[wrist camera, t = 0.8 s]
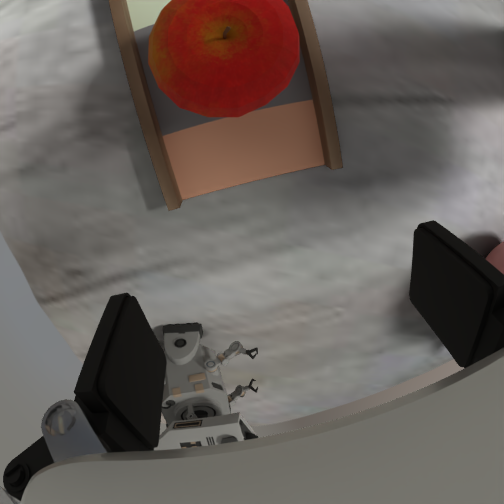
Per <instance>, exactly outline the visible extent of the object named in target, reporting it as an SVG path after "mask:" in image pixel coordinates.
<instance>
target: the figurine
mask: <svg viewBox="0 0 504 504" xmlns="http://www.w3.org/2000/svg"><path fill="white" fill-rule="evenodd" d="M163 333H164V347H165V351H164V353H165V356H166V360H167V365H166V374H165V382H164V391H163V401H162V411H161V412H162V414H163V416H164V418H165V420H166V423H167V424H166V426H167V429H166V430H165V431H164V432H163V433H162V434H161V435H160V436H159V444H158V447H156V448H154V451H155V450H169V449H180V448H191V447H200V446H209V445H217V444H224V443H231V442H238V441H244V440H250V439H255V438H258V436H257V434H256V433H255V432H254V431H253V429H252V428H251V426H250V425H249V424H248V422H247V421H246V420H245V419H244V417H243V416H242V415H241V414H240V412H239V413H233V414H231V408H230V406H232V405H234V404H235V403H236V401H235V400H237V399H238V398H239V397H244V396H245V394H246V391H247V390H249V389H252V390H253V391H255V392H257V389H258V386H257V388H256V390H255V389H254V388H253V387H252V382H253V381H256V380H254V379H252V380H251V382H250V384H249V386H245V387H243V386H241V385H238V386H237V387H236V389H235V391H234V392H232V393H231V395H230V394H229V395H227V393H226V389H225V386H224V382H223V379H222V376H221V372H220V369H219V365H220V364H222V365H223V366H225V365H227V364H228V363H229V359H231V358H232V357H233V356H237V355H239V354H240V353H243V354H247V355H249V356H250V357H251V358H252V359H254V358H255V356H256V354H258V348H254V349H252V350H246V349H244V348H243V346H242V345H241V343H240V342H239V341H235V342H233V343H232V344H231V345H230V347H229V349H227V350H226V351H224V353H219V354H218V355H217V357H216V354H215V351H214V350H212V349H209V348H207V347H205V346H203V345H200V344H199V341H200V338H201V337H202V333H203V331H202V326H201V324H199V323H194V324H193V325H191V324H190V323H187V324H186V325H180V324H175V325H174V326H173V325H172V324H169V325H168V326H163ZM254 351H256V352H257V353H256V354H255V355H254V356H252V355H251V353H252V352H254Z"/></svg>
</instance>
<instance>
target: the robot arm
mask: <svg viewBox="0 0 504 504" xmlns="http://www.w3.org/2000/svg"><path fill="white" fill-rule="evenodd" d="M409 296H410V300H411V302H412V304H413V305H414V306H415V308H416V309H417V310H418V311H419V313H420V314H421V315H422V317H423V318H424V319H425V320H426V322H427V323H428V324H429V326H430V327H431V328H432V330H433V331H434V332H435V334H436V335H437V336H438V338H439V339H440V340H441V342H442V343H443V344H444V346H445V347H446V348H447V350H448V351H449V352H450V354H451V355H452V357H453V358H454V359H455V361H456V362H457V364H458V365H459V366H460V367H464V368H465V369H463V370H461V371H459V372H457V373H455V374H453V375H451V376H449V377H446V378H444V379H442V380H440V381H438V382H436V383H434V384H431V385H429V386H427V387H424V388H422V389H420V390H417V391H415V392H412V393H410V394H407V395H405V396H402V397H400V398H397V399H395V400H392V401H390V402H387V403H384V404H382V405H379V406H376V407H373V408H370V409H367V410H364V411H361V412H358V413H355V414H352V415H349V416H345V417H342V418H339V419H336V420H332V421H328V422H325V423H321V424H317V425H314V426H310V427H306V428H302V429H298V430H293V431H290V432H285V433H280V434H275V435H271V436H266V437H260V438H255V439H250V440H244V441H238V442H231V443H224V444H217V445H209V446H200V447H191V448H180V449H169V450H155V451H154V448H156V447H158V444H159V433H160V422H161V411H162V401H163V391H164V382H165V374H166V365H167V360H166V356H165V353H164V351H163V349H162V348H161V346H160V344H159V342H158V340H157V338H156V336H155V335H154V333H153V331H152V329H151V327H150V325H149V323H148V321H147V319H146V317H145V315H144V313H143V311H142V309H141V307H140V305H139V303H138V301H137V299H136V297H135V296H130V295H129V294H128V293H123V294H119V295H114V296H111V297H110V299H109V301H108V304H107V306H106V308H105V311H104V313H103V315H102V318H101V320H100V323H99V325H98V328H97V330H96V333H95V335H94V338H93V340H92V343H91V345H90V348H89V351H88V353H87V356H86V359H85V361H84V364H83V367H82V370H81V373H80V375H79V378H78V381H77V384H76V387H75V390H74V393H75V394H76V396H75V400H74V401H73V400H67V399H65V400H61V401H58V402H56V403H55V404H53V405H52V406H51V407H50V408H48V410H47V411H46V413H45V414H44V417H43V419H42V423H41V428H42V433H43V436H42V437H41V438H40V439H39V440H37V441H36V442H35V443H33V444H32V445H31V446H30V447H28V448H27V449H26V450H25V451H23V452H22V453H21V454H20V455H18V456H17V457H16V458H14V459H13V460H12V461H11V462H10V463H9V464H8V466H7V467H6V469H5V471H4V476H3V483H4V487H5V488H2V487H0V504H504V274H503V273H501V272H500V271H499V270H498V269H497V268H495V267H494V266H493V265H492V264H491V263H489V262H488V261H487V260H486V259H485V258H483V257H482V256H481V255H480V254H478V253H477V252H476V251H475V250H473V249H472V248H471V247H469V246H468V245H467V244H466V243H464V242H463V241H462V240H460V239H459V238H458V237H456V236H455V235H454V234H452V233H451V232H450V231H448V230H447V229H446V228H444V227H443V226H441V225H440V224H439V223H437V222H436V221H429V222H425V223H421V224H419V225H418V227H417V229H416V230H415V231H414V241H413V258H412V271H411V282H410V292H409Z"/></svg>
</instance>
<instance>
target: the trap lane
mask: <svg viewBox="0 0 504 504" xmlns="http://www.w3.org/2000/svg"><path fill="white" fill-rule="evenodd" d="M170 1H171V0H109V5H110V9H111V14H112V18H113V23H114V27H115V31H116V35H117V40H118V44H119V48H120V52H121V56H122V60H123V64H124V67H125V71H126V75H127V79H128V82H129V86H130V90H131V93H132V97H133V100H134V104H135V107H136V111H137V114H138V118H139V121H140V124H141V128H142V131H143V134H144V137H145V141H146V144H147V147H148V150H149V153H150V157H151V160H152V163H153V166H154V169H155V172H156V175H157V178H158V181H159V184H160V187H161V190H162V193H163V196H164V199H165V202H166V204H167V207H168V210H169V211H170V210H174V209H177V208H180V206H181V203H182V200H185V199H188V198H192V197H195V196H199V195H202V194H206V193H210V192H213V191H217V190H221V189H224V188H228V187H232V186H236V185H240V184H244V183H248V182H252V181H256V180H260V179H264V178H268V177H272V176H276V175H281V174H285V173H289V172H294V171H298V170H303V169H307V168H312V167H317V166H321V165H326V166H327V167H329V168H330V169H331V170H334V169H339V168H343V164H342V158H341V151H340V145H339V138H338V132H337V127H336V121H335V115H334V110H333V105H332V100H331V95H330V90H329V85H328V80H327V76H326V71H325V67H324V62H323V58H322V54H321V50H320V45H319V41H318V38H317V34H316V30H315V26H314V22H313V19H312V15H311V12H310V8H309V5H308V1H307V0H283V1H284V2H285V3H286V4H287V5H288V6H289V9H290V11H291V14H292V16H293V19H294V22H295V24H296V27H297V29H298V33H299V44H300V62H299V64H298V66H297V68H296V70H295V72H294V74H293V76H292V79H291V81H290V83H289V85H288V87H286V88H285V89H284V90H283V91H282V92H280V93H279V94H278V95H277V96H276V97H275V98H273V99H272V100H271V101H270V102H269V103H268V104H266V105H265V106H262V107H260V108H258V109H256V110H254V111H251V112H249V113H247V114H245V115H243V116H241V117H206V116H203V115H200V114H197V113H194V112H191V111H188V110H185V109H182V108H179V107H178V106H177V105H176V104H175V103H174V102H173V101H172V100H171V99H170V98H169V97H168V96H167V95H166V94H165V93H164V92H163V91H162V90H161V89H160V88H159V87H158V85H157V82H156V80H155V78H154V76H153V73H152V71H151V69H150V66H149V64H148V49H149V35H150V33H151V31H152V29H153V26H154V24H155V22H156V20H157V18H158V16H159V14H160V12H161V10H162V9H163V8H164V7H165V6H166V5H167V4H168V3H169V2H170Z"/></svg>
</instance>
